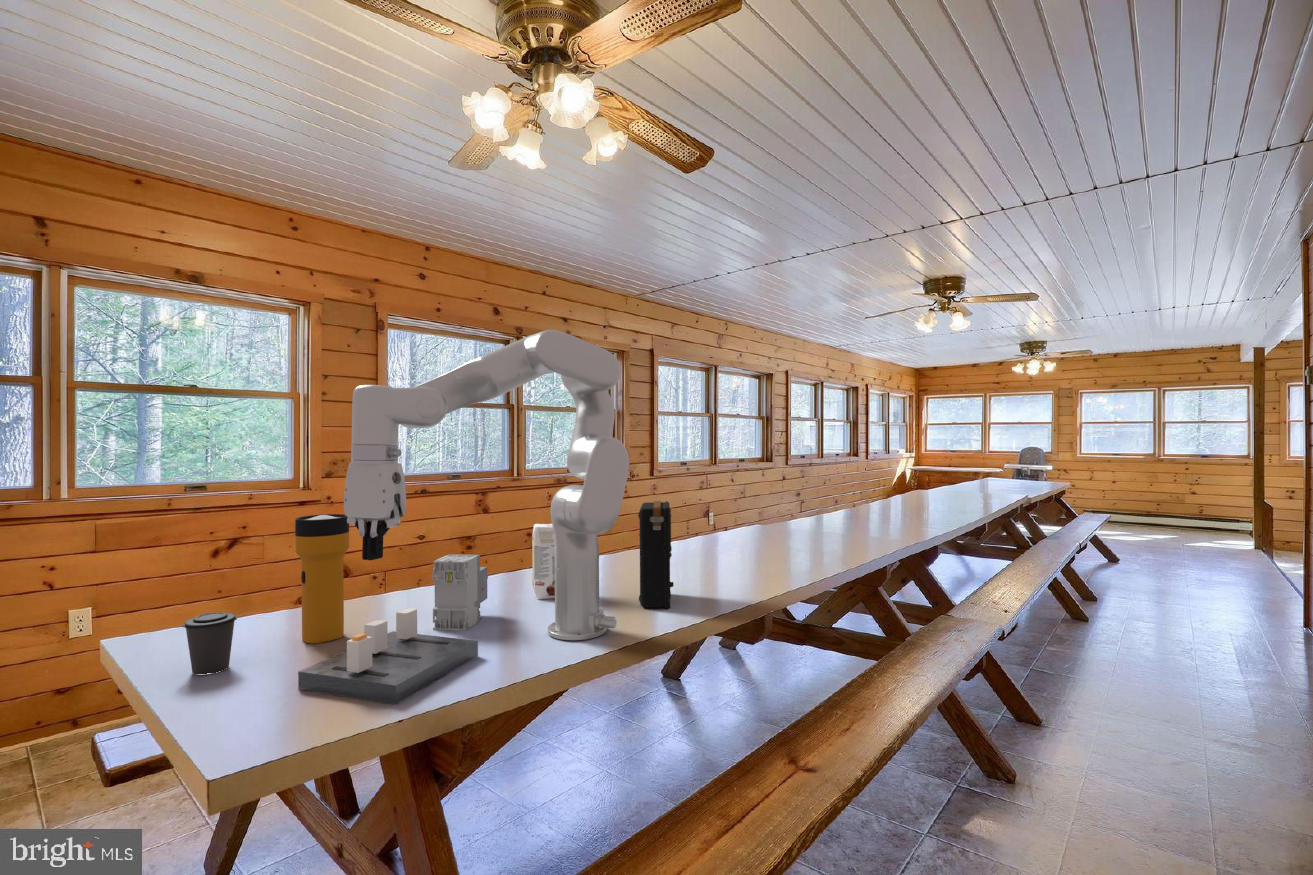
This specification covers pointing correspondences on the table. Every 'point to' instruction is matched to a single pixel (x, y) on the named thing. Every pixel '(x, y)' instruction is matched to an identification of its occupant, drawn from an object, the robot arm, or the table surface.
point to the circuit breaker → (458, 591)
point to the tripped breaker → (359, 653)
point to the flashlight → (322, 574)
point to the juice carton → (543, 561)
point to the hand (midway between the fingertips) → (372, 558)
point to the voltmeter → (655, 554)
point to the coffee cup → (210, 641)
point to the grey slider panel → (391, 669)
